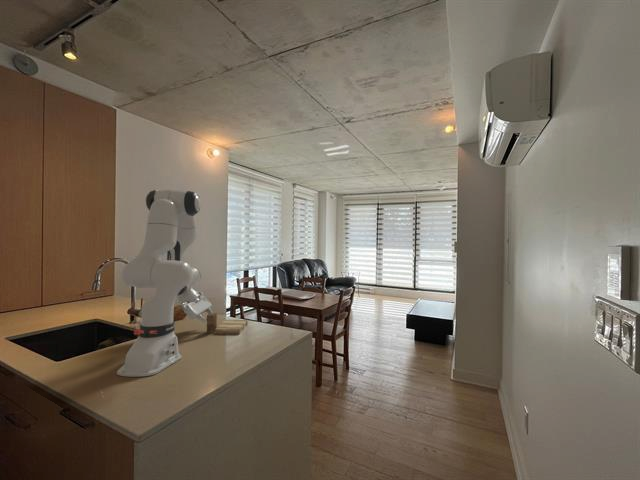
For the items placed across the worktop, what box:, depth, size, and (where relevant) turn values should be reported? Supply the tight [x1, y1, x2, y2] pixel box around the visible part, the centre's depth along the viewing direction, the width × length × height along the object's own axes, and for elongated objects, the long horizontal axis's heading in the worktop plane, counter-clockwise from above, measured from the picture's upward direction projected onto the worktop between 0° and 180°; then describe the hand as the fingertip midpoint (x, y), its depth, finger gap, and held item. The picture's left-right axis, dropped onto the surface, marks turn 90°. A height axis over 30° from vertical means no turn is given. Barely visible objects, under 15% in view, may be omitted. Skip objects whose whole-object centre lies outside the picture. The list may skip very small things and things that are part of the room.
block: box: [206, 312, 218, 334], centre depth 148 cm, size 4×4×9 cm
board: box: [214, 319, 249, 335], centre depth 153 cm, size 16×12×2 cm
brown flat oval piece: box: [173, 304, 188, 321], centre depth 167 cm, size 15×3×8 cm, turn 143°
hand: (209, 318), depth 148 cm, fingers open, 8 cm apart
